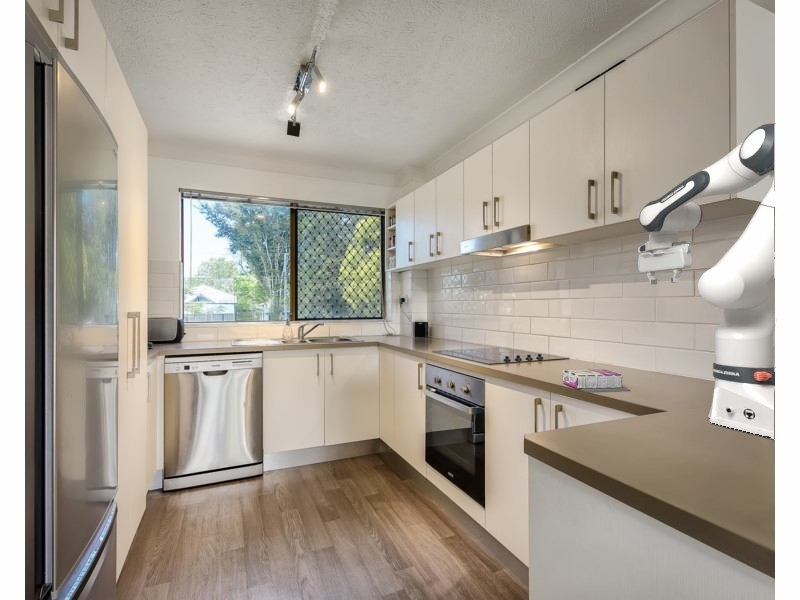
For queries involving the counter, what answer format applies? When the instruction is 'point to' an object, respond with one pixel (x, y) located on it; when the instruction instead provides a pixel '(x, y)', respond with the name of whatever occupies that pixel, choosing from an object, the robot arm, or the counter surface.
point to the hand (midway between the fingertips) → (663, 283)
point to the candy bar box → (592, 378)
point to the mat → (602, 389)
